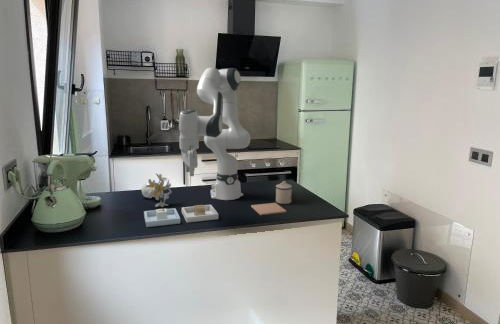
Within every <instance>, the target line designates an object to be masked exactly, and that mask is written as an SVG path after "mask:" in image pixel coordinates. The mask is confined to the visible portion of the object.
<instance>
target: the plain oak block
mask: <svg viewBox="0 0 500 324" xmlns="http://www.w3.org/2000/svg"><path fill="white" fill-rule="evenodd" d="M193 206H194V215H195V216H199V215H205V207H204V206H203V204H197V205H193Z"/></svg>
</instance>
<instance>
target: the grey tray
mask: <svg viewBox="0 0 500 324" xmlns="http://www.w3.org/2000/svg"><path fill="white" fill-rule="evenodd" d="M202 205H203V204H202ZM194 206H195V205H193V206H186V207H184V206H183V207H181V214H182V215H183V218H184V221H186V223H197V222H203V221H204V222H206V221H214V220H219V213H218V212H217V210H216V209H215V208H214V207H213V205H212V204H204V205H203V206H204V207H205V215H199V216H195V215H194Z"/></svg>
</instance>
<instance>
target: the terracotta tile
mask: <svg viewBox="0 0 500 324" xmlns="http://www.w3.org/2000/svg"><path fill="white" fill-rule="evenodd" d="M250 207H251V208H252V209H253V210H254V211H255V212H257V214H259V215H260V216H265V215H268V216H269V215H275V214H284V213H287V210H286V209H285V208H283V207H282V206H281V205H280V204H279V203H277V202H270V203H261V204H260V203H259V204H251V206H250Z"/></svg>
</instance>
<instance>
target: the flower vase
mask: <svg viewBox="0 0 500 324" xmlns="http://www.w3.org/2000/svg"><path fill="white" fill-rule="evenodd" d="M155 175H156V176H157V178H158V182H156V180H155V179H150V178H149V179H148V181H146V182H145V183H144V184H143V185H142V186H141V195H142V196H143V197H145V198H146V199H153V198H155V200H156V201H159V200H160V201H159V202H157V203H156V204H155V206H154V208H158V207H161V208H163V207H165V206H167V207H168V206H169V204H168V203H165V202H166V200H168V199H169V197H170V195H171V194H172V192H173V190H171V186H172V184H171V182H170V179H168V177H163V174H161V173H155ZM165 182H166V184H165ZM167 190H168V191H169V192H165V193H164V191H167ZM152 197H153V198H152ZM162 199H163V201H162Z"/></svg>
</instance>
